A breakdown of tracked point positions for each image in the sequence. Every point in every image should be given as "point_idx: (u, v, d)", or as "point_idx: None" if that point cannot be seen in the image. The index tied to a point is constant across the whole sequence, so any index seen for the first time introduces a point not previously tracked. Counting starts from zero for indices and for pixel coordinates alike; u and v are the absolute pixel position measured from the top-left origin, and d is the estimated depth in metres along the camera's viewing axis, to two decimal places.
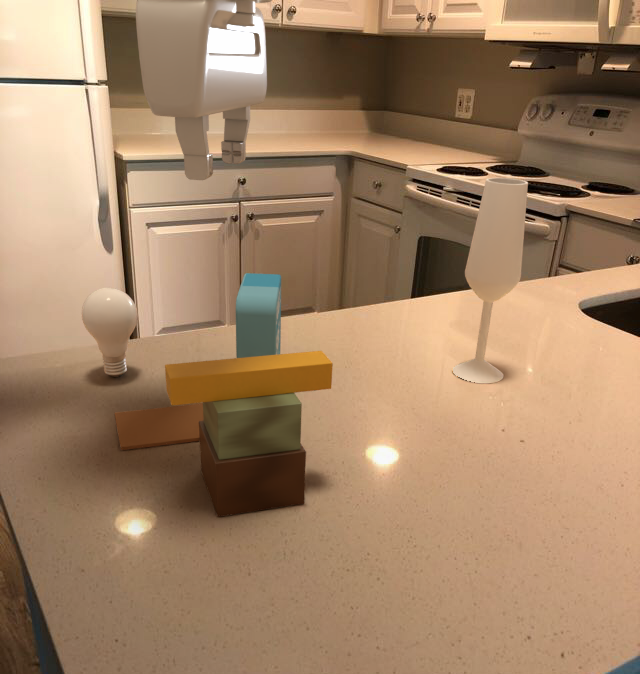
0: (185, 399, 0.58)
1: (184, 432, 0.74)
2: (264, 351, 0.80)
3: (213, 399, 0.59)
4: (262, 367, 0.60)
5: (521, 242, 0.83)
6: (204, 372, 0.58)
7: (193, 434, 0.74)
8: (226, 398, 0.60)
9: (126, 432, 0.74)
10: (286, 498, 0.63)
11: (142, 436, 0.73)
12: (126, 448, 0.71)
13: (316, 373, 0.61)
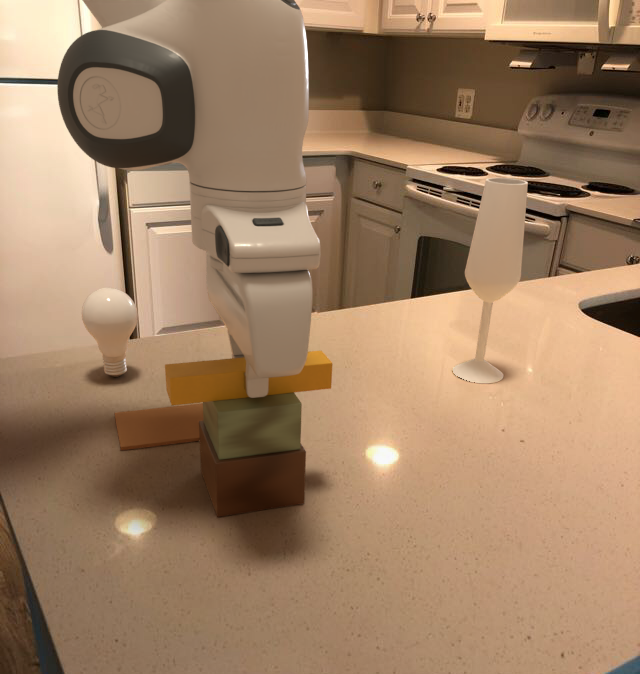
0: (185, 399, 0.58)
1: (184, 432, 0.74)
2: None
3: (213, 399, 0.59)
4: None
5: (521, 242, 0.83)
6: (204, 372, 0.58)
7: (193, 434, 0.74)
8: (226, 398, 0.60)
9: (126, 432, 0.74)
10: (286, 498, 0.63)
11: (142, 436, 0.73)
12: (126, 448, 0.71)
13: (316, 372, 0.61)
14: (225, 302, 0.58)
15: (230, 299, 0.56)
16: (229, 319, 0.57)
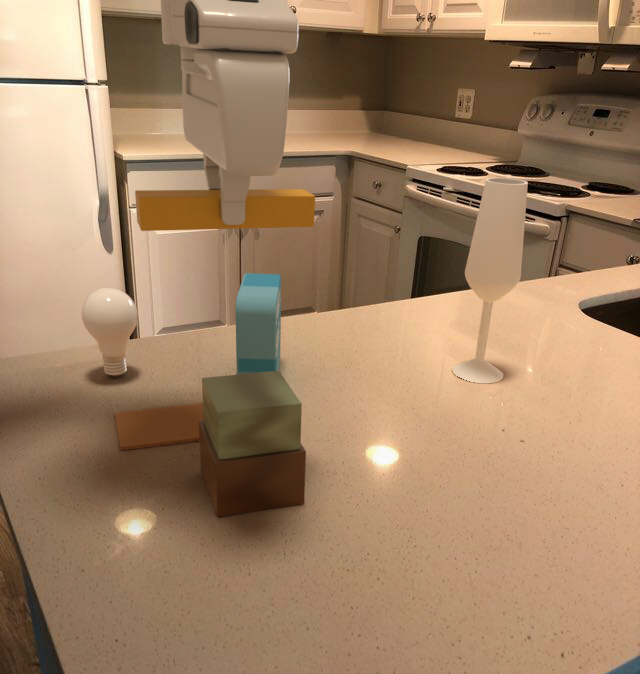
0: (156, 224, 0.55)
1: (184, 432, 0.74)
2: (264, 351, 0.80)
3: (186, 227, 0.55)
4: None
5: (521, 242, 0.83)
6: (176, 195, 0.54)
7: (193, 434, 0.74)
8: (200, 227, 0.56)
9: (126, 432, 0.74)
10: (286, 498, 0.63)
11: (142, 436, 0.73)
12: (126, 448, 0.71)
13: (297, 206, 0.57)
14: (199, 120, 0.54)
15: (204, 110, 0.52)
16: (203, 135, 0.53)
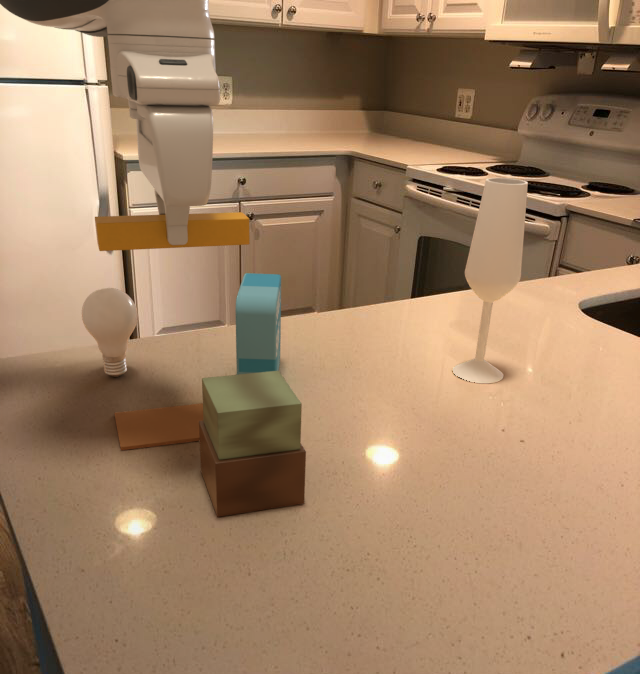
0: (112, 245, 0.64)
1: (184, 432, 0.74)
2: (264, 351, 0.80)
3: (138, 247, 0.65)
4: None
5: (521, 242, 0.83)
6: (129, 221, 0.64)
7: (193, 434, 0.74)
8: (150, 247, 0.66)
9: (126, 432, 0.74)
10: (286, 498, 0.63)
11: (142, 436, 0.73)
12: (126, 448, 0.71)
13: (234, 227, 0.67)
14: (147, 157, 0.64)
15: (149, 149, 0.62)
16: (150, 170, 0.63)
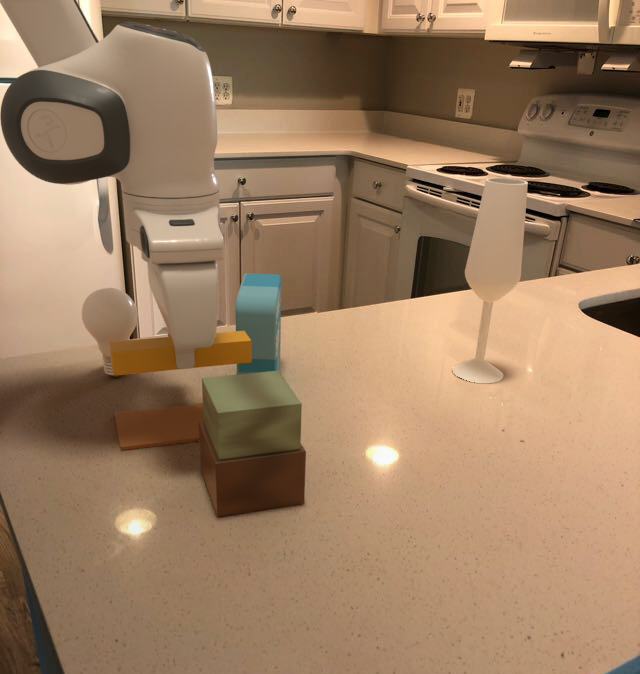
0: (125, 370, 0.70)
1: (184, 432, 0.74)
2: (264, 351, 0.80)
3: (149, 370, 0.71)
4: None
5: (521, 242, 0.83)
6: (141, 348, 0.70)
7: (193, 434, 0.74)
8: (160, 369, 0.71)
9: (126, 432, 0.74)
10: (286, 498, 0.63)
11: (142, 436, 0.73)
12: (126, 448, 0.71)
13: (237, 348, 0.73)
14: (157, 289, 0.70)
15: (159, 286, 0.68)
16: (160, 303, 0.69)
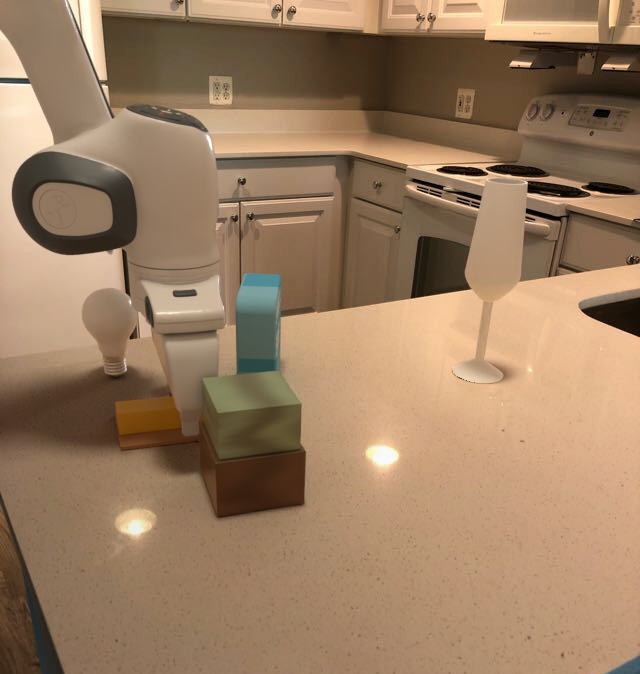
0: (130, 430, 0.73)
1: None
2: (264, 351, 0.80)
3: (153, 429, 0.74)
4: None
5: (521, 242, 0.83)
6: (146, 409, 0.73)
7: None
8: (164, 428, 0.75)
9: None
10: (286, 498, 0.63)
11: (142, 436, 0.73)
12: (126, 448, 0.71)
13: None
14: (160, 348, 0.73)
15: (162, 347, 0.71)
16: (163, 363, 0.72)
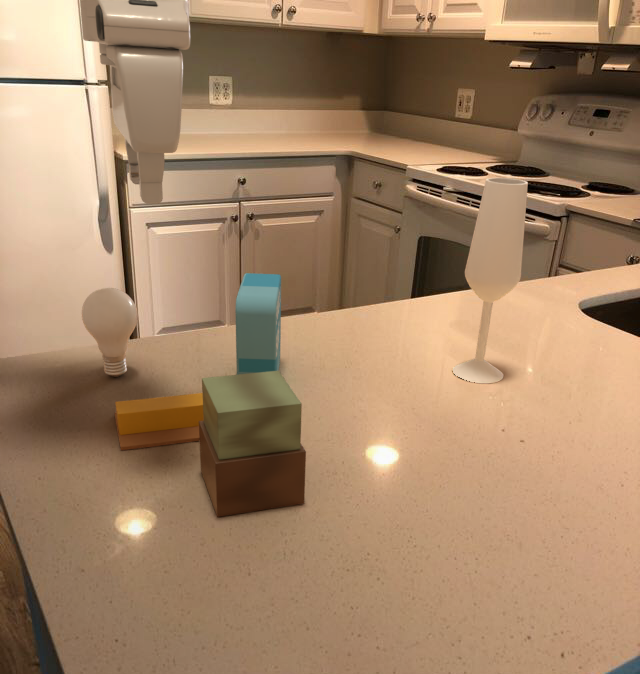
0: (130, 430, 0.73)
1: (184, 432, 0.74)
2: (264, 351, 0.80)
3: (153, 429, 0.74)
4: (193, 404, 0.75)
5: (521, 242, 0.83)
6: (146, 409, 0.73)
7: (193, 434, 0.74)
8: (164, 428, 0.75)
9: None
10: (286, 498, 0.63)
11: (142, 436, 0.73)
12: (126, 448, 0.71)
13: None
14: (119, 107, 0.63)
15: (120, 97, 0.61)
16: (121, 120, 0.62)
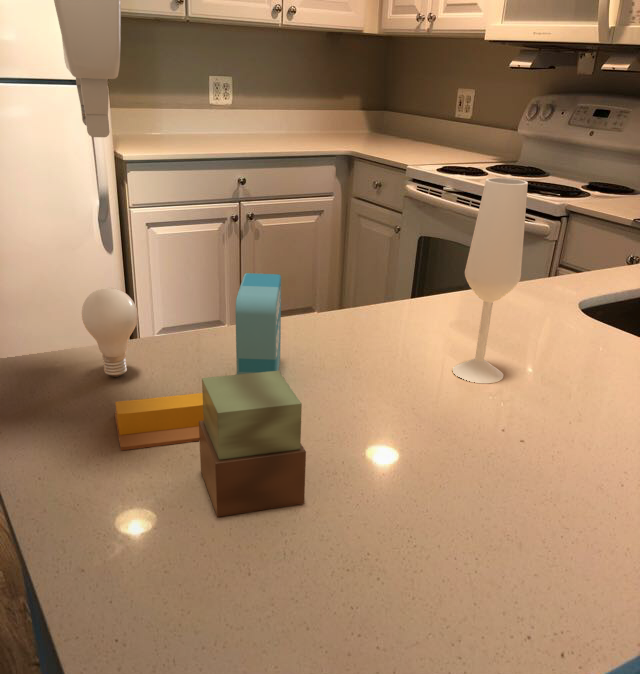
0: (130, 430, 0.73)
1: (184, 432, 0.74)
2: (264, 351, 0.80)
3: (153, 429, 0.74)
4: (193, 404, 0.75)
5: (521, 242, 0.83)
6: (146, 409, 0.73)
7: (193, 434, 0.74)
8: (164, 428, 0.75)
9: None
10: (286, 498, 0.63)
11: (142, 436, 0.73)
12: (126, 448, 0.71)
13: None
14: None
15: None
16: None
